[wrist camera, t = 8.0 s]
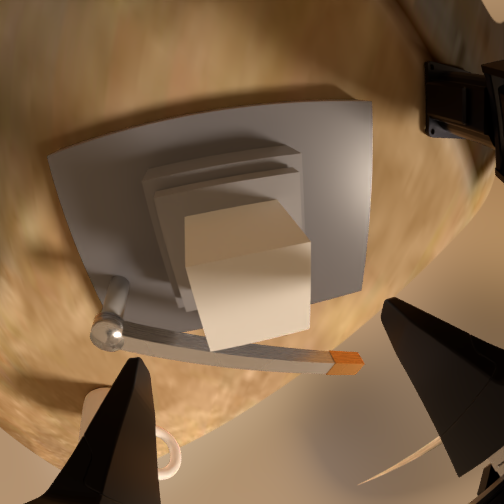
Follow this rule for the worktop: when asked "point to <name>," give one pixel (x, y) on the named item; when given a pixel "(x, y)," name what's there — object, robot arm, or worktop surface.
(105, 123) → the worktop surface
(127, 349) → the latch bar
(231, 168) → the socket block
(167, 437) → the mug
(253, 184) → the plug
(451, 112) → the robot arm
